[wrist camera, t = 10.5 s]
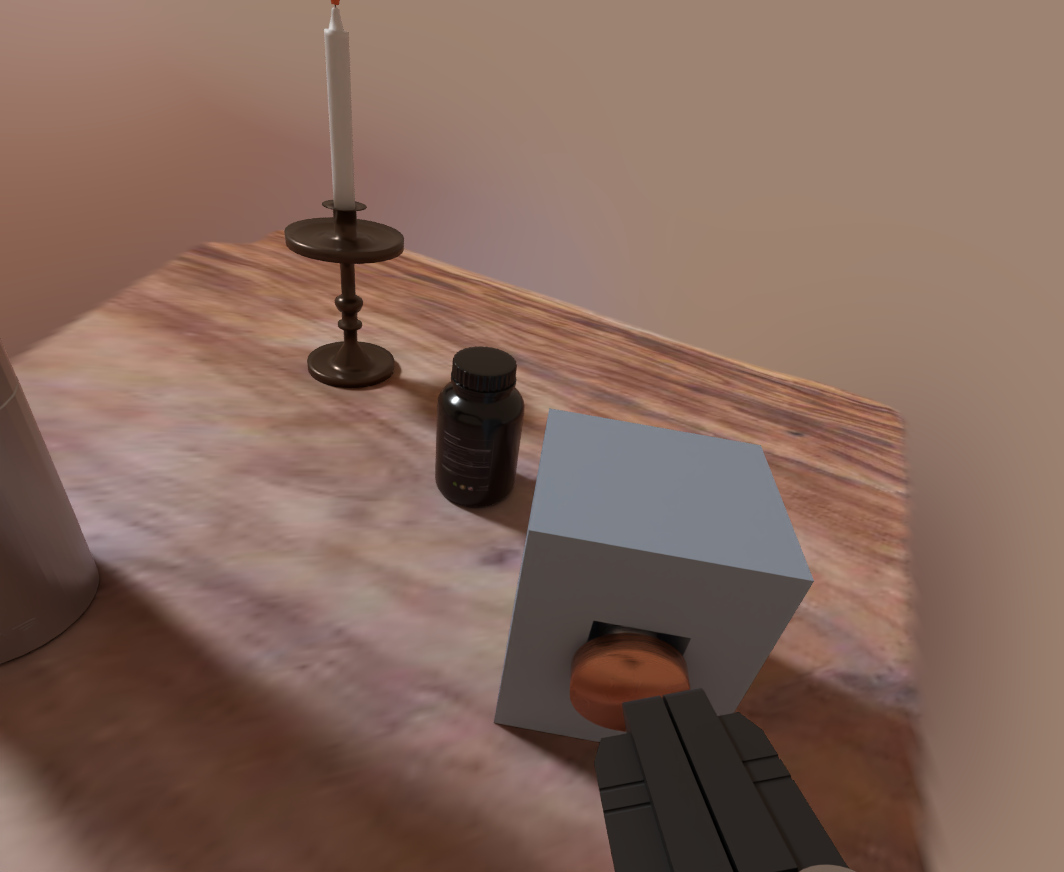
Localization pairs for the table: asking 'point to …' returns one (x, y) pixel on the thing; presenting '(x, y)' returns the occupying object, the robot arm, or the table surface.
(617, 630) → the pin
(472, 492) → the supplement bottle
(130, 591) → the table surface
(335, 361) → the candlestick
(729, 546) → the block with square hole
